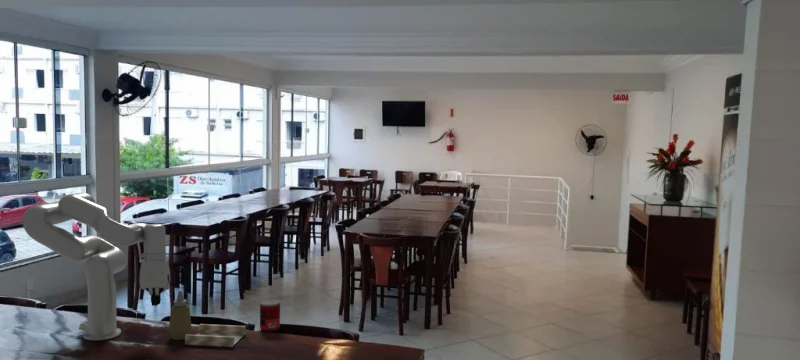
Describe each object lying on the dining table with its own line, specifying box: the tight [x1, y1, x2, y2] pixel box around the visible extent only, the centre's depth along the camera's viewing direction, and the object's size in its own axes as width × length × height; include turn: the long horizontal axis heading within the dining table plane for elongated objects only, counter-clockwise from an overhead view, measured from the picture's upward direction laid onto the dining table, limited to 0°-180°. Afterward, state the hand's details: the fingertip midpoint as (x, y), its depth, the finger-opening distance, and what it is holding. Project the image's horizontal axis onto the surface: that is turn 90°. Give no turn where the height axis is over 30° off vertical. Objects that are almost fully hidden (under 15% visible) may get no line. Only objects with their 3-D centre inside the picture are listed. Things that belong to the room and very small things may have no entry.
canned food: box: [259, 298, 281, 333], centre depth 220 cm, size 8×8×11 cm
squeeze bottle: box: [168, 290, 192, 341], centre depth 207 cm, size 8×8×18 cm
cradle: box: [184, 323, 247, 348], centre depth 206 cm, size 18×13×4 cm
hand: (155, 304), depth 207 cm, fingers closed
